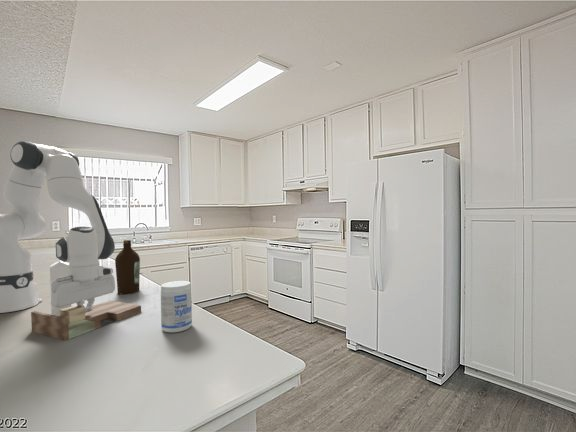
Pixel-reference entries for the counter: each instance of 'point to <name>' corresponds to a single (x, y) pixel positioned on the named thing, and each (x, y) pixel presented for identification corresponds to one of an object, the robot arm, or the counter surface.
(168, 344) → the counter surface
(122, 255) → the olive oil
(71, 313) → the block
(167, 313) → the supplement tub
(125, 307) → the board
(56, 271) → the milk
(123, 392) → the counter surface
